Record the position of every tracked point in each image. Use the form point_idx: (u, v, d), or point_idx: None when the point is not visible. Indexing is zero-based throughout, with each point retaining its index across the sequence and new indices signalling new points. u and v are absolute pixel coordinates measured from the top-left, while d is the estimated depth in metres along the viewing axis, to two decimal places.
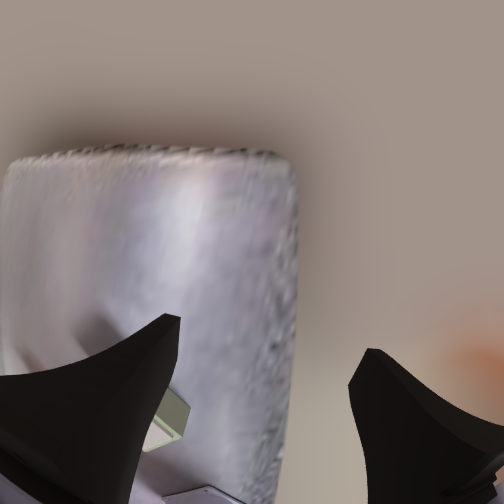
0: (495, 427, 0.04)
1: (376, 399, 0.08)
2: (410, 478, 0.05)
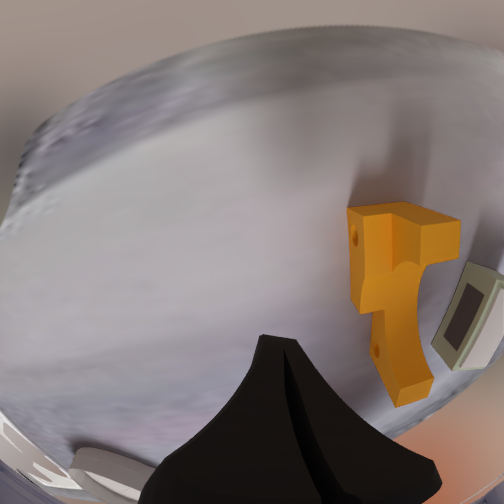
0: (402, 453, 0.04)
1: None
2: None
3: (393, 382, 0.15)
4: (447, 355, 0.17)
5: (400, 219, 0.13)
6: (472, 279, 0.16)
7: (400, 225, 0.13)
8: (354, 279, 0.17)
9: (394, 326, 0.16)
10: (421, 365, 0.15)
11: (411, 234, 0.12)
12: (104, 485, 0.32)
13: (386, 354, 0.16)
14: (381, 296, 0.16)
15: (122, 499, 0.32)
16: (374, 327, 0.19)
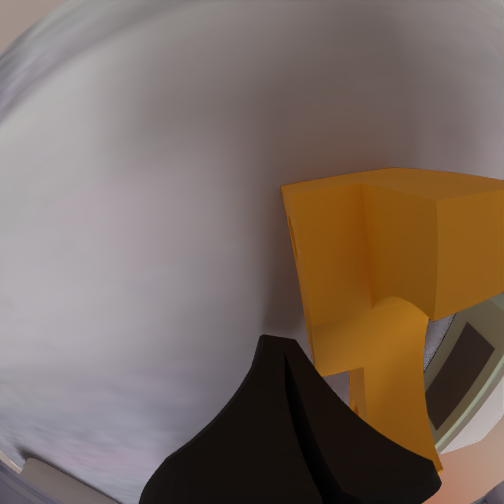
0: (401, 454, 0.04)
1: None
2: None
3: None
4: None
5: (379, 194, 0.05)
6: (476, 317, 0.09)
7: (380, 208, 0.05)
8: (305, 315, 0.10)
9: (381, 391, 0.09)
10: (424, 449, 0.07)
11: (409, 229, 0.04)
12: None
13: None
14: (356, 347, 0.08)
15: None
16: (352, 382, 0.11)
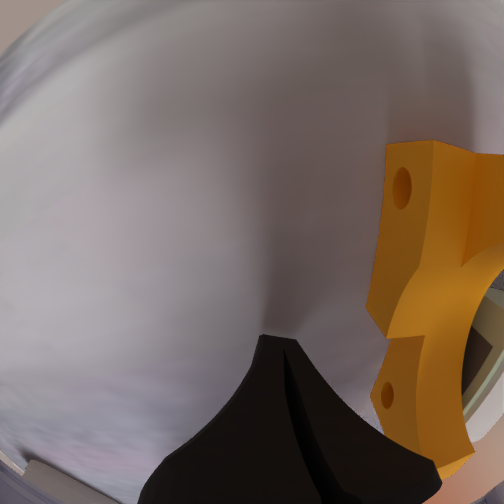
0: (402, 454, 0.04)
1: None
2: None
3: None
4: None
5: (500, 160, 0.05)
6: None
7: (499, 171, 0.05)
8: (384, 272, 0.09)
9: (431, 365, 0.08)
10: (459, 431, 0.07)
11: None
12: None
13: (409, 409, 0.08)
14: (428, 310, 0.08)
15: None
16: (391, 361, 0.11)
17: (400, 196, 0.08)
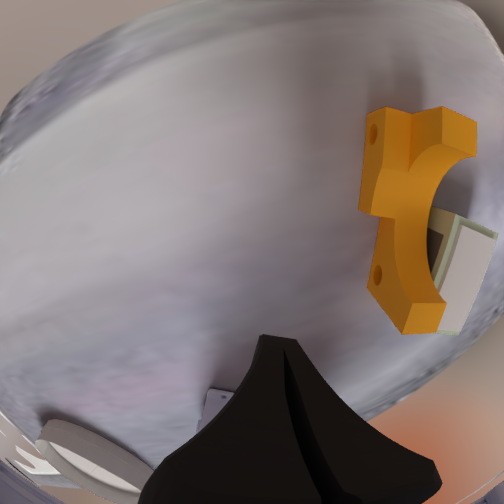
0: (402, 453, 0.04)
1: None
2: None
3: (402, 300, 0.14)
4: None
5: (421, 114, 0.11)
6: (429, 221, 0.16)
7: (420, 119, 0.11)
8: (366, 181, 0.16)
9: (403, 241, 0.15)
10: (431, 290, 0.14)
11: (432, 119, 0.10)
12: (74, 465, 0.31)
13: (392, 271, 0.15)
14: (394, 201, 0.15)
15: (92, 481, 0.31)
16: (378, 250, 0.17)
17: (373, 140, 0.15)
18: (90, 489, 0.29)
